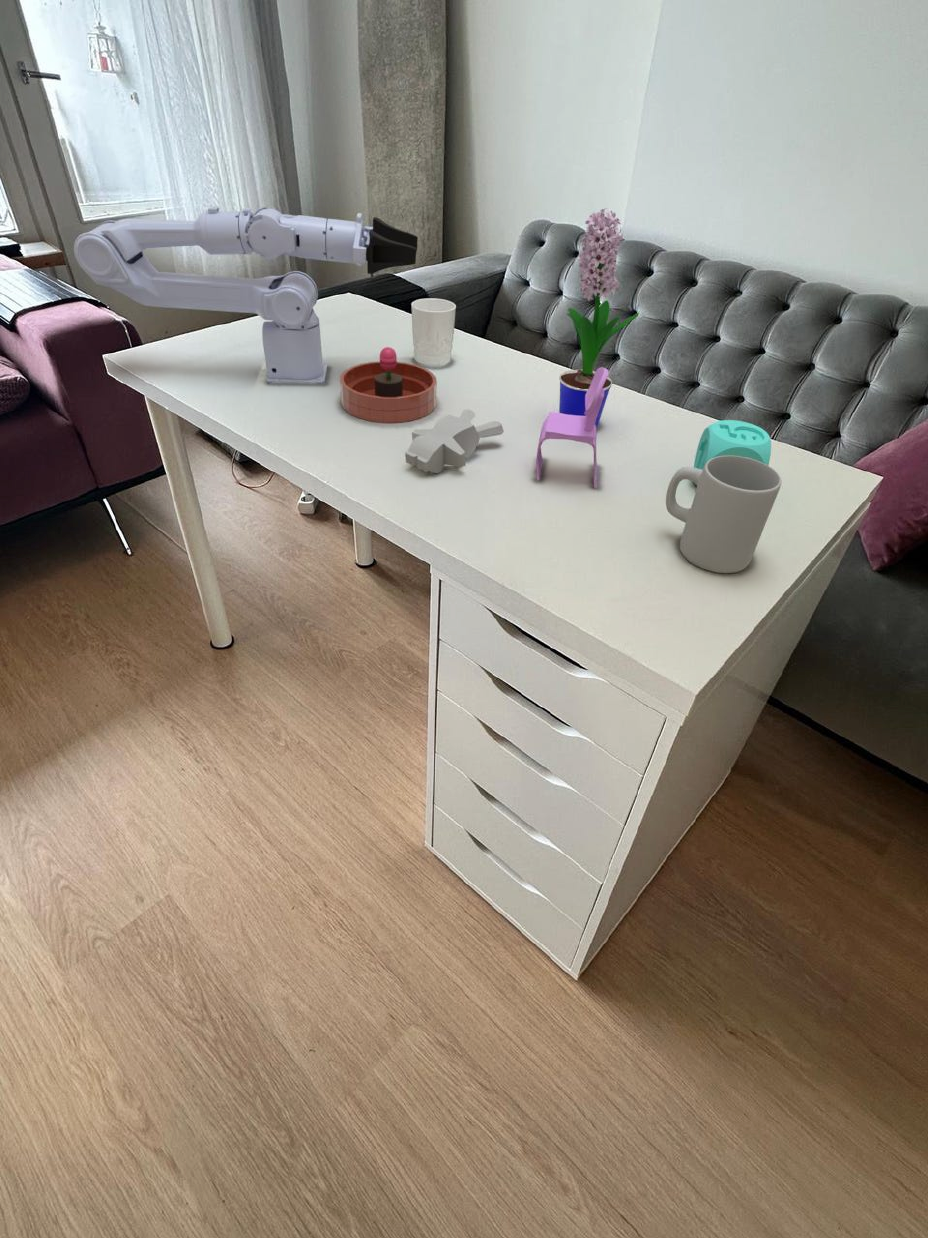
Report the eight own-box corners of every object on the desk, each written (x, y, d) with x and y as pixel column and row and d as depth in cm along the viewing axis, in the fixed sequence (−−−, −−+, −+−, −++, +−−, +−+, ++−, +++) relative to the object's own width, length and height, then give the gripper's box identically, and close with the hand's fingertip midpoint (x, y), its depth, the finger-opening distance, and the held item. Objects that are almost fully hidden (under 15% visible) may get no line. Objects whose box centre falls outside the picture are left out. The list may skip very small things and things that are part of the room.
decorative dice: (690, 468, 99) (706, 416, 93) (746, 475, 98) (765, 423, 93) (695, 495, 93) (712, 441, 87) (755, 503, 92) (775, 449, 87)
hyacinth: (613, 440, 104) (661, 219, 84) (548, 431, 105) (579, 211, 86) (615, 417, 111) (659, 207, 91) (553, 409, 112) (584, 199, 92)
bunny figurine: (389, 435, 93) (461, 393, 100) (393, 467, 96) (462, 424, 104) (440, 459, 88) (510, 413, 96) (442, 491, 92) (510, 445, 99)
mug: (760, 551, 83) (793, 471, 76) (734, 583, 78) (767, 500, 70) (670, 515, 88) (693, 438, 81) (641, 543, 83) (663, 462, 76)
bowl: (339, 425, 103) (337, 397, 100) (344, 386, 114) (342, 359, 111) (438, 427, 104) (439, 399, 102) (433, 388, 116) (434, 361, 113)
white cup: (452, 370, 122) (455, 313, 116) (409, 368, 122) (409, 310, 116) (454, 355, 128) (456, 299, 122) (413, 352, 128) (413, 296, 122)
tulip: (375, 407, 107) (373, 352, 101) (375, 396, 110) (373, 342, 105) (402, 408, 108) (402, 352, 102) (402, 397, 111) (402, 342, 105)
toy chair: (537, 456, 99) (551, 353, 89) (597, 463, 98) (617, 360, 88) (532, 483, 93) (547, 376, 83) (596, 492, 92) (618, 384, 82)
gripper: (321, 220, 95) (416, 231, 96) (333, 200, 106) (419, 210, 107) (322, 274, 100) (414, 283, 101) (334, 250, 111) (416, 259, 112)
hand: (416, 249), depth 105 cm, fingers open, 7 cm apart
